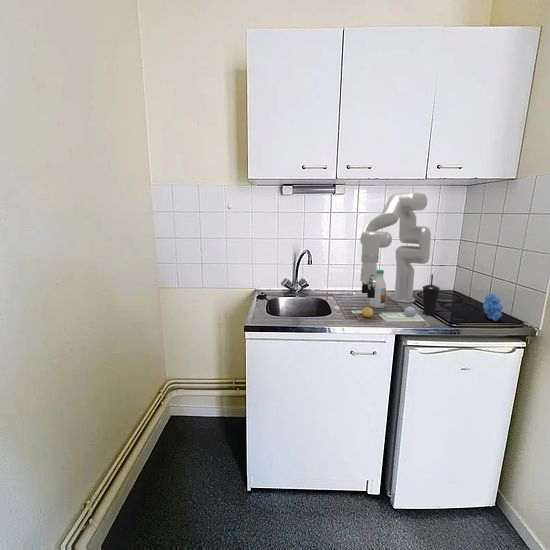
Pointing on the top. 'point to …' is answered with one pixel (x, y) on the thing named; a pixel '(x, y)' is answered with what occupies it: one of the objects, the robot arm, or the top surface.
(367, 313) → the ochre ball
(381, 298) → the milk bottle
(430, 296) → the drinking cup
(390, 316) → the rack
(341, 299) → the top surface
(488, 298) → the grapes
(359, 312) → the tile
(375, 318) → the coaster
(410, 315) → the slate ball
